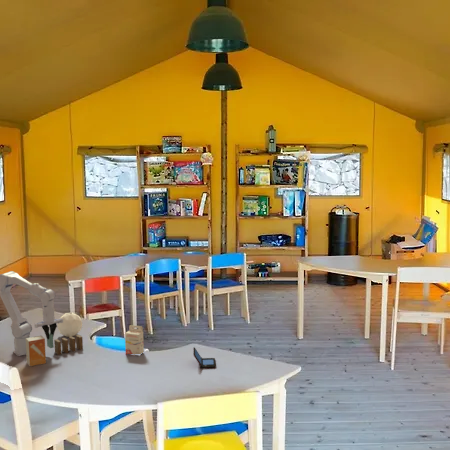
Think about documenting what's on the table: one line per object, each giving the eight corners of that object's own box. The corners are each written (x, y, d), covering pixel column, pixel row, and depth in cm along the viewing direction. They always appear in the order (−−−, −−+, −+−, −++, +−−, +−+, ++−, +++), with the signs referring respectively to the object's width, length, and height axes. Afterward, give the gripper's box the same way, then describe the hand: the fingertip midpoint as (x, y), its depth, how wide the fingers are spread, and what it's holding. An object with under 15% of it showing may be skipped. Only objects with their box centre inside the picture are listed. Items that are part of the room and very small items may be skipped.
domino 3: (65, 353, 300) (65, 340, 299) (62, 350, 303) (61, 338, 303) (68, 352, 300) (68, 339, 300) (65, 350, 304) (64, 337, 304)
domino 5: (80, 350, 304) (79, 337, 304) (76, 347, 308) (75, 335, 308) (82, 349, 305) (82, 336, 305) (79, 347, 309) (78, 334, 308)
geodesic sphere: (76, 319, 342) (64, 304, 334) (92, 323, 334) (80, 307, 325) (61, 339, 333) (48, 324, 325) (77, 343, 325) (64, 328, 317)
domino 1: (50, 348, 294) (49, 335, 293) (47, 345, 298) (46, 332, 297) (53, 347, 295) (52, 334, 294) (50, 345, 299) (49, 332, 298)
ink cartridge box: (125, 354, 296) (124, 327, 294) (129, 351, 301) (128, 324, 299) (139, 356, 293) (138, 328, 292) (144, 353, 298) (143, 326, 296)
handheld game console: (216, 368, 275) (215, 354, 274) (193, 369, 274) (193, 354, 273) (215, 359, 287) (214, 345, 286) (193, 360, 287) (193, 346, 286)
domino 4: (73, 351, 302) (72, 339, 301) (69, 349, 306) (68, 336, 305) (75, 351, 303) (75, 338, 302) (72, 348, 307) (71, 336, 306)
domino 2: (58, 355, 297) (57, 342, 296) (54, 352, 301) (54, 339, 300) (61, 354, 298) (60, 341, 297) (57, 351, 302) (57, 339, 301)
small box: (29, 366, 281) (28, 341, 279) (26, 363, 286) (25, 338, 284) (46, 363, 285) (45, 338, 284) (42, 359, 290) (41, 335, 289)
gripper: (37, 317, 287) (38, 343, 289) (64, 312, 296) (66, 337, 297) (32, 314, 293) (34, 339, 294) (59, 309, 301) (61, 334, 303)
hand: (49, 338), depth 296 cm, fingers closed on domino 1, 1 cm apart
